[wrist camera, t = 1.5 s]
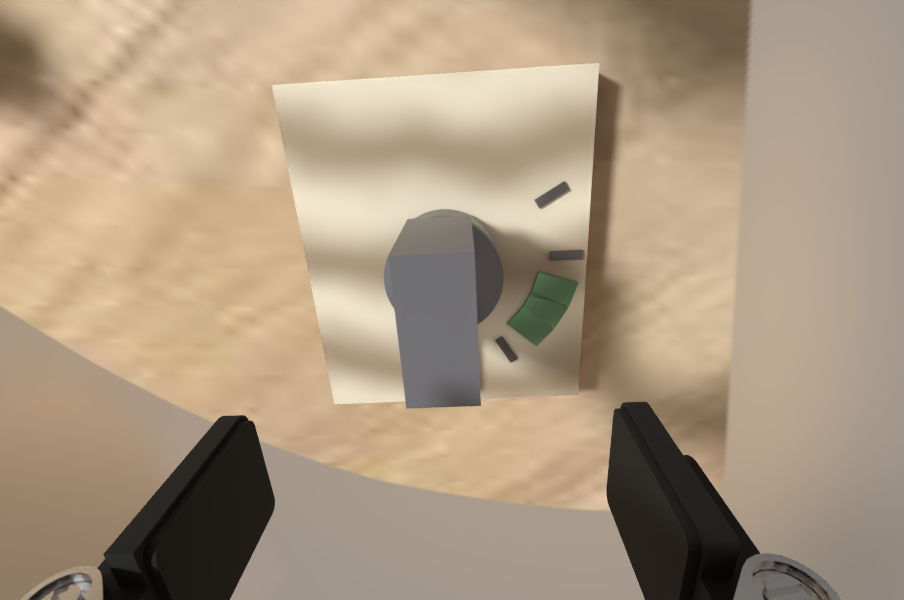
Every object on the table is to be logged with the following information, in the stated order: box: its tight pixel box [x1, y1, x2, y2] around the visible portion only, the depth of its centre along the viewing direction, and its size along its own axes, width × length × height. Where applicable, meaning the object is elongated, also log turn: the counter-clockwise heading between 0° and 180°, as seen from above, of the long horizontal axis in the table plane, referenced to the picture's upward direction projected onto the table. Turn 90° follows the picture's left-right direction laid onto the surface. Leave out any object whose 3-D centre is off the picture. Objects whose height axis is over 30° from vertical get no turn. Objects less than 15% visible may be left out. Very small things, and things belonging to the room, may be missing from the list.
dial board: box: [272, 63, 599, 404], centre depth 26 cm, size 19×16×2 cm
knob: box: [384, 209, 504, 408], centre depth 21 cm, size 11×6×9 cm, turn 3°
